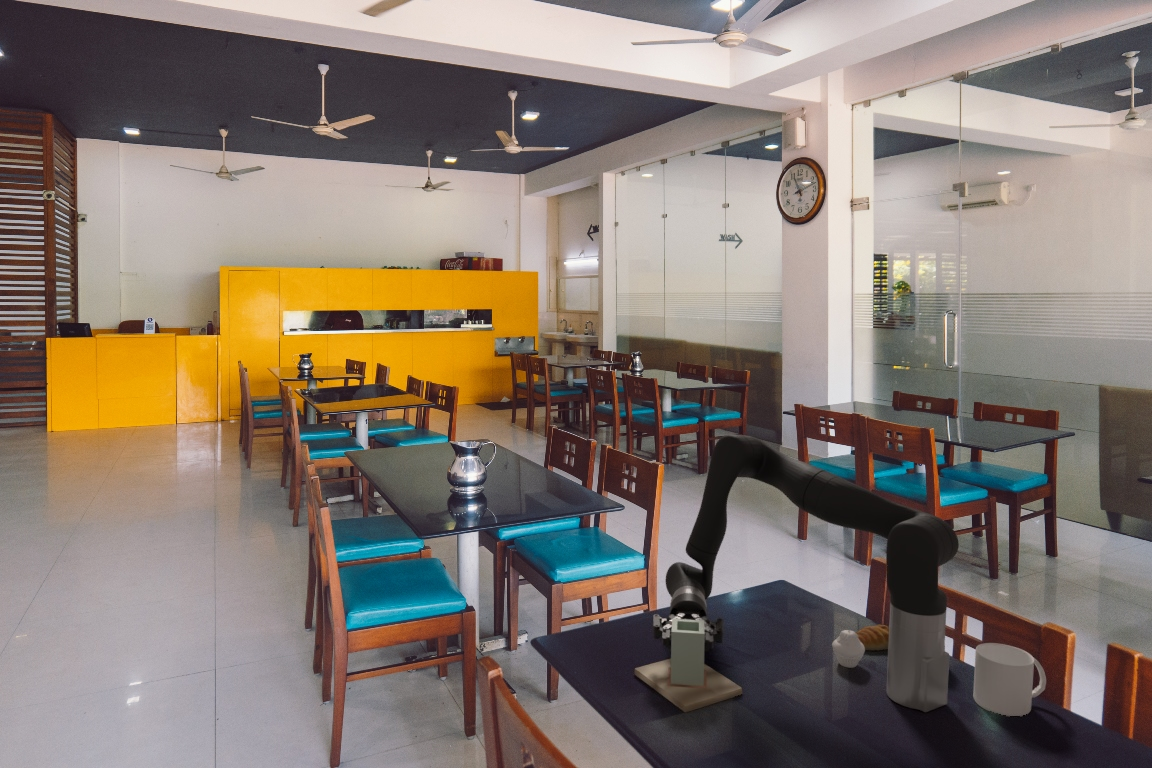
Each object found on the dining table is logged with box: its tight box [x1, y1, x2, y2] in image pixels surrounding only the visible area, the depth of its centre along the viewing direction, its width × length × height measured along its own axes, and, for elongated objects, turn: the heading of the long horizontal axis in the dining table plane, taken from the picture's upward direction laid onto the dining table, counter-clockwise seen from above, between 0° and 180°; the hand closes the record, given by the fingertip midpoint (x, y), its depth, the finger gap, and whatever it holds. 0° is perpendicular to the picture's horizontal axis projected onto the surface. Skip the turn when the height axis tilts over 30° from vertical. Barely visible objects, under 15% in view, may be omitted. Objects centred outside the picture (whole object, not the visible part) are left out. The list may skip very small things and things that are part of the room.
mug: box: [972, 642, 1047, 717], centre depth 135 cm, size 12×9×9 cm
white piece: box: [831, 629, 866, 669], centre depth 151 cm, size 6×6×7 cm
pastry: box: [855, 624, 889, 652], centre depth 160 cm, size 9×7×4 cm
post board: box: [634, 658, 743, 713], centre depth 143 cm, size 16×13×6 cm
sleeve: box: [670, 619, 705, 686], centre depth 142 cm, size 6×6×10 cm
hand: (687, 645), depth 140 cm, fingers open, 6 cm apart
